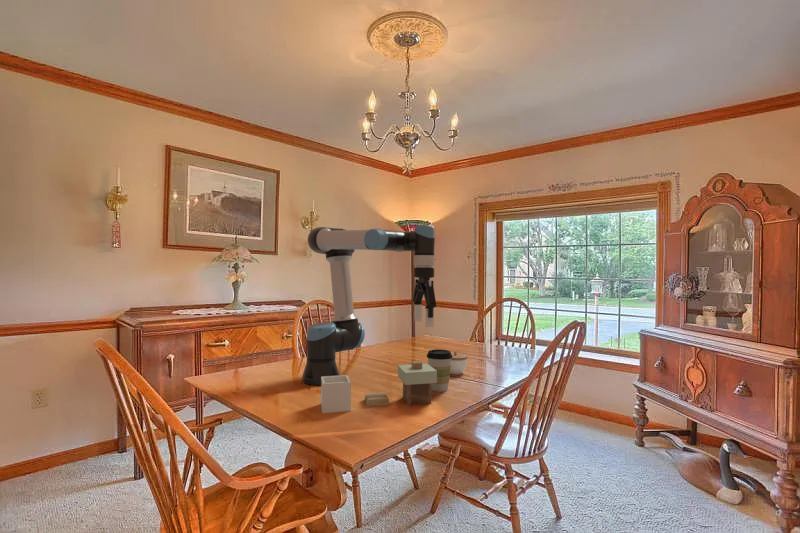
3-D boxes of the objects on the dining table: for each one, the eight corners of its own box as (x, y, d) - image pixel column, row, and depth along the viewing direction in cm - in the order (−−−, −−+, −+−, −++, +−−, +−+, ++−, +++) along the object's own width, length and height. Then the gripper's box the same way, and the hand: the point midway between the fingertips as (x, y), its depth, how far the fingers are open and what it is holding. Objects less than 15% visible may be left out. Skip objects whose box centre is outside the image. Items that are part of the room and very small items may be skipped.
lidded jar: (469, 375, 179) (469, 354, 179) (444, 375, 179) (444, 354, 179) (465, 369, 190) (465, 349, 190) (442, 369, 190) (442, 349, 190)
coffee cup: (451, 395, 151) (451, 354, 151) (424, 394, 153) (424, 353, 153) (453, 388, 160) (453, 349, 160) (428, 386, 162) (428, 348, 162)
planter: (320, 406, 139) (321, 376, 139) (347, 404, 141) (347, 375, 141) (322, 415, 130) (322, 383, 130) (350, 413, 132) (350, 382, 132)
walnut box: (402, 399, 146) (402, 377, 146) (424, 398, 148) (424, 375, 148) (408, 407, 138) (408, 383, 138) (431, 405, 140) (431, 381, 140)
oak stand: (364, 402, 143) (364, 393, 143) (384, 400, 145) (384, 392, 145) (367, 408, 136) (367, 399, 136) (388, 407, 138) (388, 398, 138)
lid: (397, 376, 147) (397, 359, 147) (427, 374, 150) (427, 358, 150) (405, 384, 136) (405, 366, 136) (437, 382, 139) (437, 365, 139)
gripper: (446, 267, 142) (445, 328, 142) (423, 266, 166) (422, 319, 166) (425, 267, 140) (424, 329, 140) (405, 266, 164) (404, 319, 164)
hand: (423, 324), depth 153 cm, fingers open, 13 cm apart
